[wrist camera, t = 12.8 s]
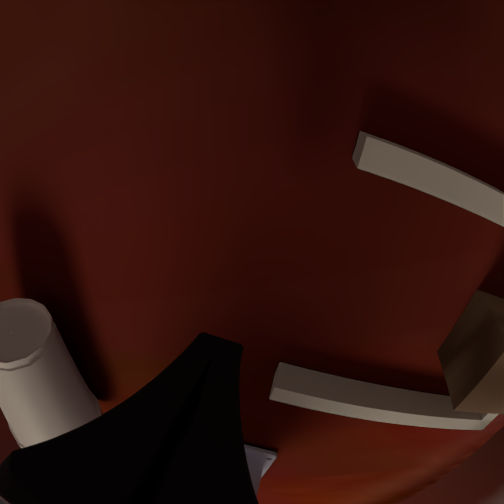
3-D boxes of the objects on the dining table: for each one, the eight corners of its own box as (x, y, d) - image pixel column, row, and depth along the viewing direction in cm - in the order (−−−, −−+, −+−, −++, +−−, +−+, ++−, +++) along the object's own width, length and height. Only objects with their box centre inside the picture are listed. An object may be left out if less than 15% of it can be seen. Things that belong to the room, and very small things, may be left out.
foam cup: (92, 297, 21) (115, 400, 27) (-1, 276, 20) (37, 378, 26) (37, 403, 12) (92, 483, 19) (-65, 355, 11) (5, 450, 18)
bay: (476, 409, 17) (481, 429, 16) (274, 374, 19) (269, 399, 17) (587, 245, 10) (605, 261, 9) (360, 130, 12) (366, 136, 10)
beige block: (487, 361, 15) (507, 414, 12) (436, 350, 16) (453, 410, 12) (525, 305, 13) (557, 356, 9) (476, 288, 14) (508, 345, 10)
